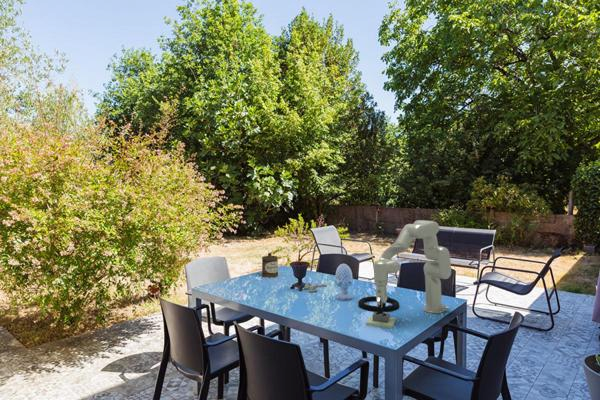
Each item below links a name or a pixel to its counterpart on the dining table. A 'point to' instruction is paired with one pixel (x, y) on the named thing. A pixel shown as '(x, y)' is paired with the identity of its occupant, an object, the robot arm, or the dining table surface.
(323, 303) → the dining table surface
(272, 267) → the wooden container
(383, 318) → the grey rectangular frame
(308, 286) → the pulley system
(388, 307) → the cable lock
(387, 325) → the keeper board
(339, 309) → the dining table surface
